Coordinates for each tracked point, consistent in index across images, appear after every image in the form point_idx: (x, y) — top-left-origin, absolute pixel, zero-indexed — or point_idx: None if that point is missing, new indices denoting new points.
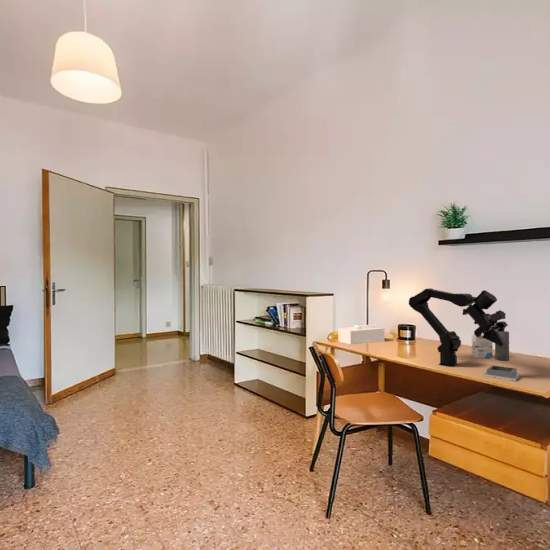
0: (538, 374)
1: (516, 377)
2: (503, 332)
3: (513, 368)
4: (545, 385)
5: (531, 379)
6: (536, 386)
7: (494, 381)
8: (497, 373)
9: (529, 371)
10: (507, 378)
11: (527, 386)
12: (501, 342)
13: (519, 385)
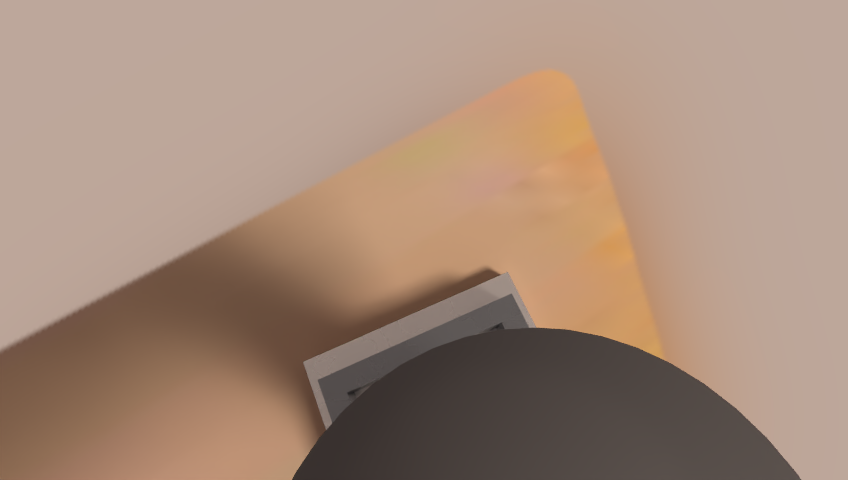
0: (148, 320)
1: (463, 293)
2: (696, 429)
3: (345, 395)
4: (415, 132)
5: (348, 256)
6: (490, 142)
7: (660, 348)
8: None
9: (97, 420)
10: (531, 325)
11: (544, 165)
12: None
13: (573, 201)
